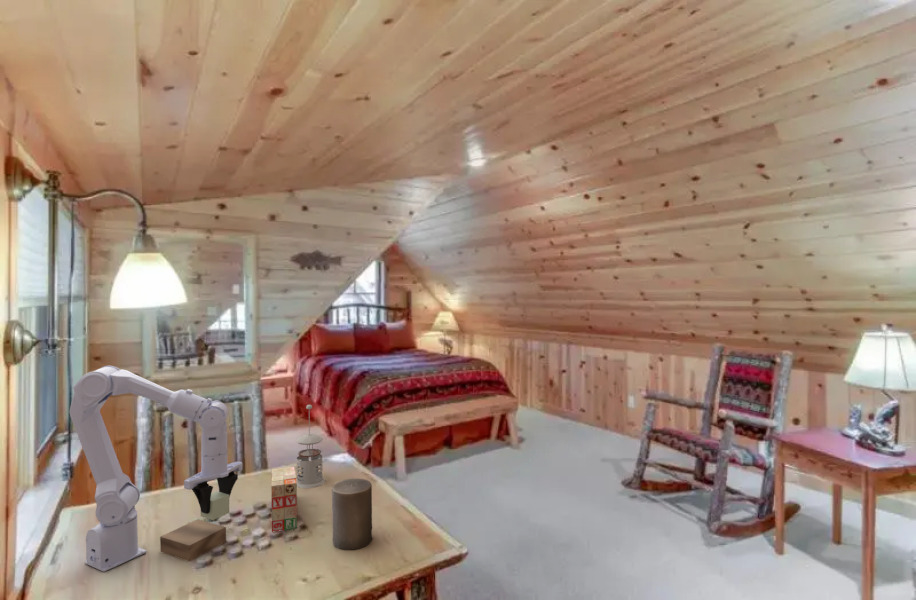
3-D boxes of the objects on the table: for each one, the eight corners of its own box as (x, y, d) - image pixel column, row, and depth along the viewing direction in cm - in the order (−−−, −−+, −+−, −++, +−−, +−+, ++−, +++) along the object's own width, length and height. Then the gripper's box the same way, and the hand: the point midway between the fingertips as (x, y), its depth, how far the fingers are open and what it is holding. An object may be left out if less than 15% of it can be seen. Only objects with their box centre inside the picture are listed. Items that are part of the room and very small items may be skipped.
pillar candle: (380, 537, 127) (380, 478, 127) (351, 554, 119) (351, 491, 119) (352, 527, 133) (352, 470, 132) (323, 543, 125) (323, 482, 124)
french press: (293, 489, 157) (292, 409, 157) (294, 476, 169) (294, 401, 168) (325, 486, 160) (325, 407, 159) (325, 473, 171) (324, 399, 170)
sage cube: (213, 520, 121) (212, 501, 121) (200, 516, 123) (200, 497, 123) (229, 512, 125) (229, 494, 125) (217, 509, 127) (216, 491, 127)
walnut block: (189, 562, 116) (189, 545, 116) (160, 553, 120) (160, 536, 120) (226, 542, 125) (225, 526, 125) (197, 534, 130) (197, 519, 129)
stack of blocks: (271, 500, 150) (271, 458, 150) (294, 497, 152) (293, 456, 152) (271, 533, 130) (271, 485, 130) (297, 528, 132) (296, 481, 132)
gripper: (197, 464, 115) (198, 524, 116) (250, 447, 128) (250, 500, 128) (178, 459, 118) (178, 517, 119) (231, 443, 131) (231, 495, 132)
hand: (214, 508), depth 124 cm, fingers closed on sage cube, 4 cm apart
